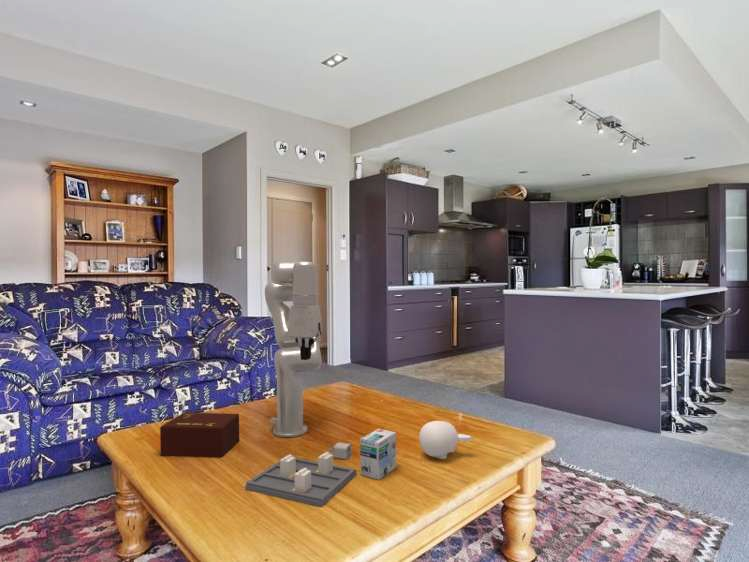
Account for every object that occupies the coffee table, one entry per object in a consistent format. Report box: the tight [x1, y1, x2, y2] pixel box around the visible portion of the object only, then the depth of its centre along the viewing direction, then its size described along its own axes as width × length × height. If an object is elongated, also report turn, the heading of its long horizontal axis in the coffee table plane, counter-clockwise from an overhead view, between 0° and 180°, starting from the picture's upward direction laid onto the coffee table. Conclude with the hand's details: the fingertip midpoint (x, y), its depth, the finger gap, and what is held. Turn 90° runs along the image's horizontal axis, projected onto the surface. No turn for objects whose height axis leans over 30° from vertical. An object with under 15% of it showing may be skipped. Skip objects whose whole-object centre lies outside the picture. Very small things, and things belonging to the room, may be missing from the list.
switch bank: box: [244, 457, 357, 508], centre depth 127 cm, size 24×20×2 cm
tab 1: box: [279, 454, 297, 477], centre depth 129 cm, size 3×3×5 cm
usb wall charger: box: [327, 442, 352, 460], centre depth 145 cm, size 4×7×4 cm, turn 71°
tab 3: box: [317, 451, 334, 474], centre depth 131 cm, size 3×3×5 cm
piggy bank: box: [418, 420, 472, 460], centre depth 145 cm, size 12×12×15 cm
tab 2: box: [295, 468, 311, 493], centre depth 120 cm, size 3×3×5 cm
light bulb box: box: [359, 428, 397, 481], centre depth 134 cm, size 11×7×11 cm, turn 148°
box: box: [159, 412, 240, 459], centre depth 153 cm, size 21×16×10 cm
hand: (305, 359), depth 141 cm, fingers closed
